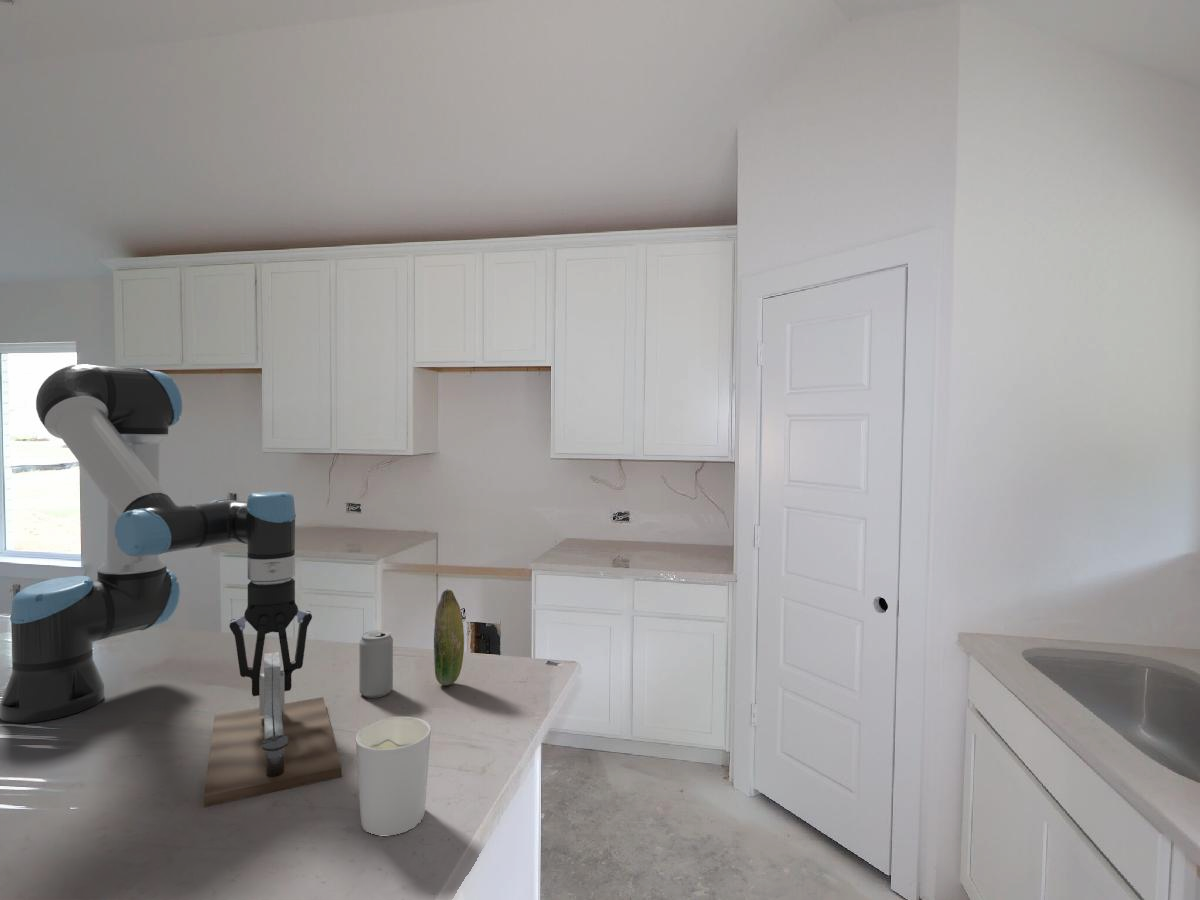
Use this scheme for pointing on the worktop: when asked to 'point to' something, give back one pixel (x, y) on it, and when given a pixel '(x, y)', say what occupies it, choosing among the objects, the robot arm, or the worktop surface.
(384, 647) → the beverage can
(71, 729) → the worktop surface
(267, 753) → the tongs hinge post
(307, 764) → the walnut board
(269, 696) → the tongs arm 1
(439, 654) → the vegetable
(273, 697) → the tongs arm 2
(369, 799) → the candle holder
